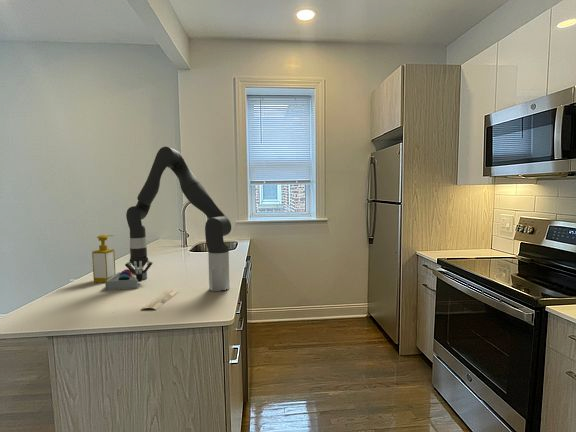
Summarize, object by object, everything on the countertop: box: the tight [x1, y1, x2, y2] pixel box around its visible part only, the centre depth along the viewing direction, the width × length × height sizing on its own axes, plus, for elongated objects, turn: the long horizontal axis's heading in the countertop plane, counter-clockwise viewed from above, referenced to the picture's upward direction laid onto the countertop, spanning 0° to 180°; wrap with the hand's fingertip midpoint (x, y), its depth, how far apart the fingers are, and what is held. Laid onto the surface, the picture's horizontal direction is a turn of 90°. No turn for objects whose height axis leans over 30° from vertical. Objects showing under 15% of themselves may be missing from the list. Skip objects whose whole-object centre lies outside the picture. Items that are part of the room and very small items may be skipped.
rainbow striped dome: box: [116, 268, 136, 280], centre depth 170 cm, size 8×10×7 cm
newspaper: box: [140, 289, 179, 311], centre depth 144 cm, size 24×7×2 cm, turn 177°
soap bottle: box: [91, 234, 117, 284], centre depth 179 cm, size 7×13×24 cm, turn 174°
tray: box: [104, 271, 148, 291], centre depth 170 cm, size 18×14×4 cm
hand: (139, 281), depth 171 cm, fingers closed
